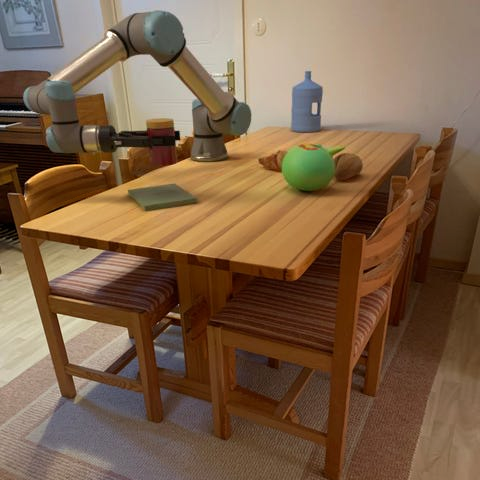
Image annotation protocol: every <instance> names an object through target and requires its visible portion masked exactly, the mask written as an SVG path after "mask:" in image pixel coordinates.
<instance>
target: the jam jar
mask: <svg viewBox="0 0 480 480" xmlns="http://www.w3.org/2000/svg"><path fill="white" fill-rule="evenodd" d="M146 130H147V137H149V136H150V137H151V138H152V136H175V131H176V130H175V126H174V127H171V128H164V129H151V128H147V127H146ZM152 148H153V149H149V148H148V154H149V162H150V163H149V164H150V165H152V166H158V167H162V166H163V167H165V166H172V165H175V164H177V163H178V155H177V154H178V153H177V145H176V146H153V145H152Z"/></svg>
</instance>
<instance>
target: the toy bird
mask: <svg viewBox="0 0 480 480" xmlns="http://www.w3.org/2000/svg"><path fill="white" fill-rule="evenodd" d="M298 144H299V145H296V146H294V147H292V148H290V149H289V150H288V151H286V152H287V154H286V155H285V157H284V159H283V162H282V171H281V174H282V177H283V179H284V180H285V182H286V183H287V184H288V185H290V186H291V187H293V188H294V189H296V190H299V191H304V192H313V191H318V190H321V189H323V188H325V187H326V186H328V185H329V184H330V183H331V181H332V180H333V178H334V173H335V162H334V159H335V158H334V156H335V155H337V154H339V153H340V152H342V151H344V150H345V149H346V146H345V145H338V146H331V147H323V146H322V144H321V143H318V144H312V143H307V142H303V141H299V142H298Z"/></svg>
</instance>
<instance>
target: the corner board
mask: <svg viewBox="0 0 480 480" xmlns="http://www.w3.org/2000/svg"><path fill="white" fill-rule="evenodd" d="M127 195H128V196H129V197H130V198H131V199H132V200H133V201H134V202H135V203H136V204H137V205H138V206H140V207H141V208H142V209H143V210H144V211H145V212H148V211H154V210H155V211H156V210H160V209H161V210H162V209H167V208H173V207H180V206H186V205H192V204H198V200H197V199H198V198H197V197H196V196H194V195H193V194H191V193H190V192H188V191H187V190H185V189H184V188H182V187H181V186H179V185H178V184H176V183H168V184H161V185H154V186H153V185H152V186H147V187H140V188H139V187H137V188H132V189H127Z"/></svg>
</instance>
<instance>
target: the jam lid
mask: <svg viewBox="0 0 480 480" xmlns="http://www.w3.org/2000/svg"><path fill="white" fill-rule="evenodd" d="M174 122H175V121H174V119H173V118H170V117H169V118H167V117H164V118H163V117H162V118H161V117H157V118H150V119H146V120H145V127H146V129H147V128H151V129H164V128H171V127H174V128H175V123H174Z"/></svg>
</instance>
